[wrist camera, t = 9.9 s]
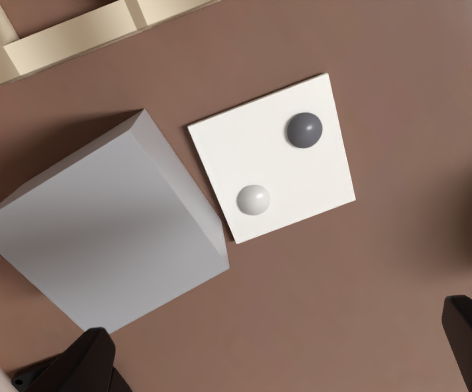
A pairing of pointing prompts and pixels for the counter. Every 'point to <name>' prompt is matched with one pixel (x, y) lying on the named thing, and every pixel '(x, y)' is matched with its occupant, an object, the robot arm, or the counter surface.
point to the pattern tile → (276, 158)
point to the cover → (113, 228)
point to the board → (83, 34)
